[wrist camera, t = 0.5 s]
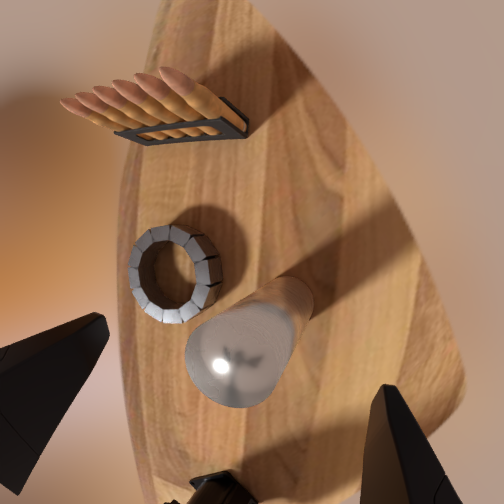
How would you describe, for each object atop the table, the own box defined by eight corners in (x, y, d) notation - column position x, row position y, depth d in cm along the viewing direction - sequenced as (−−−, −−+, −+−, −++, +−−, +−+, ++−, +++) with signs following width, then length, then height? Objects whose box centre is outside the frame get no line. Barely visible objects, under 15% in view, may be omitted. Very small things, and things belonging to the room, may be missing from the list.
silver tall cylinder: (280, 338, 25) (222, 419, 13) (250, 295, 26) (168, 346, 14) (324, 310, 24) (298, 384, 12) (293, 265, 24) (237, 299, 13)
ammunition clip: (249, 118, 25) (177, 50, 13) (248, 138, 25) (172, 79, 13) (147, 128, 28) (55, 92, 16) (145, 146, 28) (50, 115, 17)
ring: (175, 331, 28) (161, 338, 26) (131, 260, 29) (115, 262, 27) (240, 284, 26) (229, 290, 23) (187, 207, 27) (172, 205, 24)
